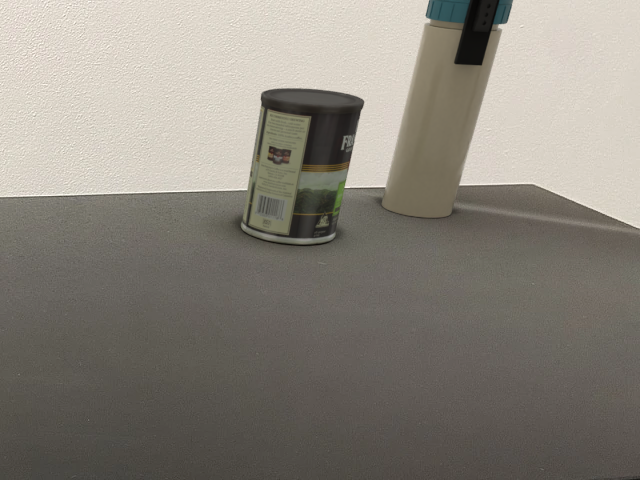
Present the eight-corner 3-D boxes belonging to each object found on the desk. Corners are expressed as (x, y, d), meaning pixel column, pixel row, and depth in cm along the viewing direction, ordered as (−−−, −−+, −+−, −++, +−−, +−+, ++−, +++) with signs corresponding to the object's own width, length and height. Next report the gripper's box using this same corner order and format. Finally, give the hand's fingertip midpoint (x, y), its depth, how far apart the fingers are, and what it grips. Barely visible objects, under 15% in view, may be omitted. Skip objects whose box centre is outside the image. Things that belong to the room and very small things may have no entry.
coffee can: (336, 224, 109) (365, 92, 102) (333, 250, 101) (364, 109, 94) (245, 213, 112) (266, 83, 105) (234, 238, 104) (256, 99, 96)
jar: (452, 205, 118) (508, 6, 106) (449, 221, 112) (508, 12, 100) (384, 196, 121) (431, 1, 109) (377, 211, 114) (426, 6, 103)
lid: (421, 20, 104) (427, -5, 102) (429, 14, 110) (434, -10, 109) (505, 26, 101) (513, 1, 99) (508, 20, 107) (514, -4, 106)
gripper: (603, -196, 86) (523, 75, 98) (520, -180, 104) (461, 47, 116) (517, -199, 87) (448, 71, 99) (449, -183, 105) (397, 44, 117)
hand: (455, 58), depth 107 cm, fingers closed on lid, 8 cm apart
